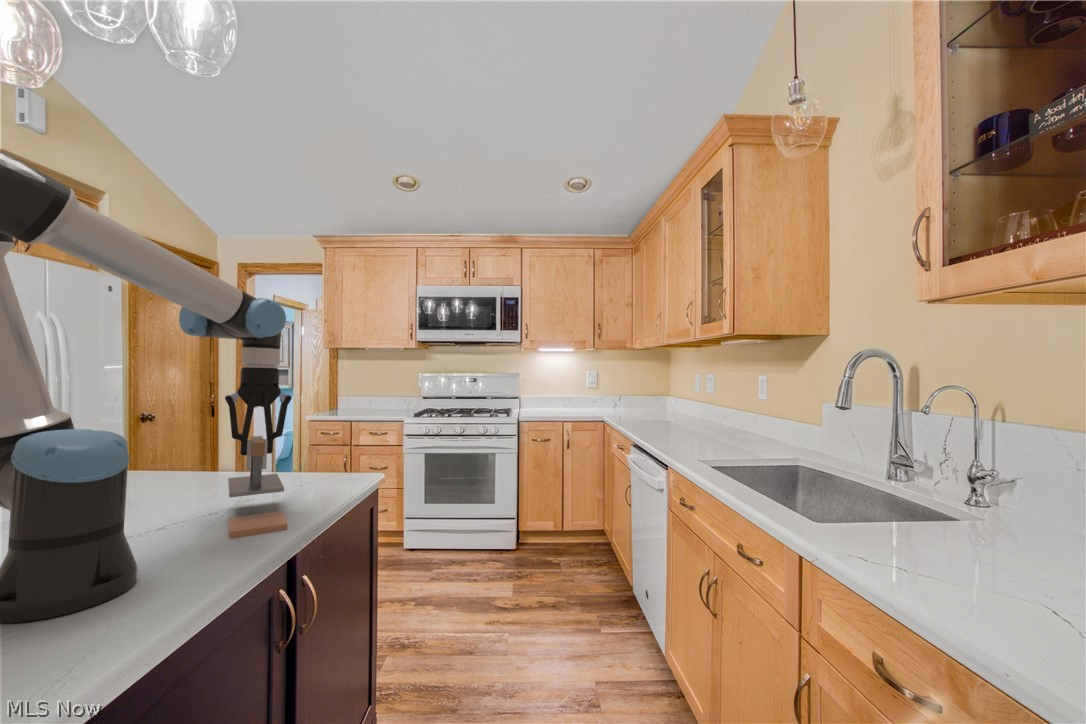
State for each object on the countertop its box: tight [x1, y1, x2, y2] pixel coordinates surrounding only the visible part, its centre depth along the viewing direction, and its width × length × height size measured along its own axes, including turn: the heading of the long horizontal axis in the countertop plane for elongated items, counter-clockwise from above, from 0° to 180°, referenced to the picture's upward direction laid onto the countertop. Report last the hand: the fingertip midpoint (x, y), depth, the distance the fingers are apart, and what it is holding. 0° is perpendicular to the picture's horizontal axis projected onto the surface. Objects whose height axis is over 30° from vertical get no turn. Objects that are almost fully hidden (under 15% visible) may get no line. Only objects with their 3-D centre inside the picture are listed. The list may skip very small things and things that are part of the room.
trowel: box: [227, 435, 285, 498], centre depth 103 cm, size 16×10×11 cm, turn 36°
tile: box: [227, 510, 288, 540], centre depth 95 cm, size 2×10×10 cm
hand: (256, 468), depth 103 cm, fingers closed on trowel, 2 cm apart
